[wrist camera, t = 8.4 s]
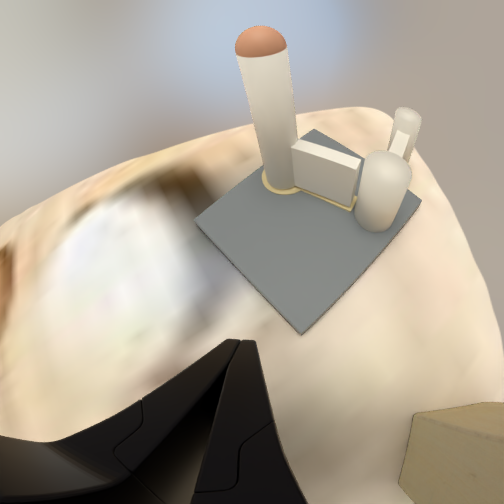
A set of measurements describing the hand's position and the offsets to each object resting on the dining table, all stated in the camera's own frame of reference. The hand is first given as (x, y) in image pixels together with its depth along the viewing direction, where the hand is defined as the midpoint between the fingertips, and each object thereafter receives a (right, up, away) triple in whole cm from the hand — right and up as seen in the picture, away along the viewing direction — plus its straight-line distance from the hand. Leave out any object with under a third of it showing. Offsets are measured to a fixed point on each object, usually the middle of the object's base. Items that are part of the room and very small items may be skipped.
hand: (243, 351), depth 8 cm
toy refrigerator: (+16, -13, +5) cm, 21 cm away
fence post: (+5, +9, +16) cm, 19 cm away
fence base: (+13, +8, +16) cm, 22 cm away
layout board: (+6, +6, +17) cm, 19 cm away
